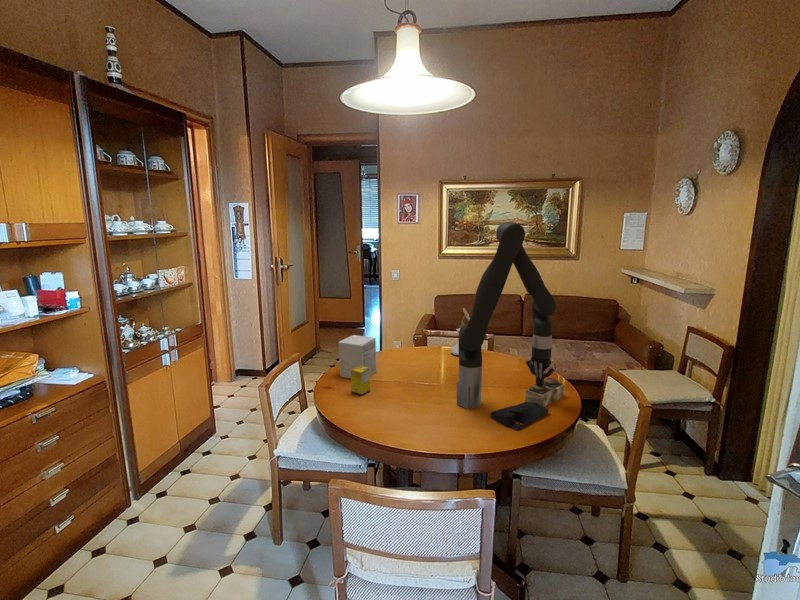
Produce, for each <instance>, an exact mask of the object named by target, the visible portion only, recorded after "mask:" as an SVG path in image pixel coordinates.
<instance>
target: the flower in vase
mask: <svg viewBox="0 0 800 600" xmlns="http://www.w3.org/2000/svg"><path fill="white" fill-rule="evenodd" d="M462 311H463V313H464V316H463V317H462V319H461V323H460V324H459V326H458V327H459V328H456V331H457V334H458V335H459V331H460V329H461V327H462V326H463V325H465V322H464V319H465V318H466V320H467V321H468V322H469V320H470V317H471V316H470V314H469V313H468V311H467V309H466V308H465V307H463V308H462ZM449 351H450V353H451V355H452V354H453V355H455V356H459V341H458V342H457V343H456V344H455V345H453V346H452V347H451V348H450V349H449Z"/></svg>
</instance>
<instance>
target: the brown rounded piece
mask: <svg viewBox="0 0 800 600" xmlns="http://www.w3.org/2000/svg"><path fill="white" fill-rule="evenodd" d="M532 387H533V389H534V390H537V391H544V390H546V386H545V385H542V386H541V387H539V386H537V384H536V383H534V384H533V386H532Z"/></svg>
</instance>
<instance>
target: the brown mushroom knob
mask: <svg viewBox="0 0 800 600" xmlns="http://www.w3.org/2000/svg"><path fill="white" fill-rule="evenodd" d="M545 381H546V383H547V384H549V385H557V384H558V382H559V380H558V379H557V378H556V377H555V378H553V377H547V378H545Z"/></svg>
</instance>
